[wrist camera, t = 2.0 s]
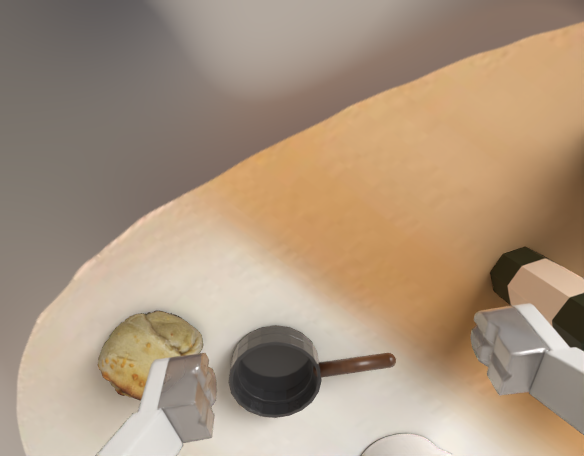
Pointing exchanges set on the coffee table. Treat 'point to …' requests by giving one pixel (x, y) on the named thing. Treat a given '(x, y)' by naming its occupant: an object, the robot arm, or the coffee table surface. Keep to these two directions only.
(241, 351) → the pan
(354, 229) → the coffee table surface
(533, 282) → the wine bottle
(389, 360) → the pan handle
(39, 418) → the coffee table surface
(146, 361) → the pastry
